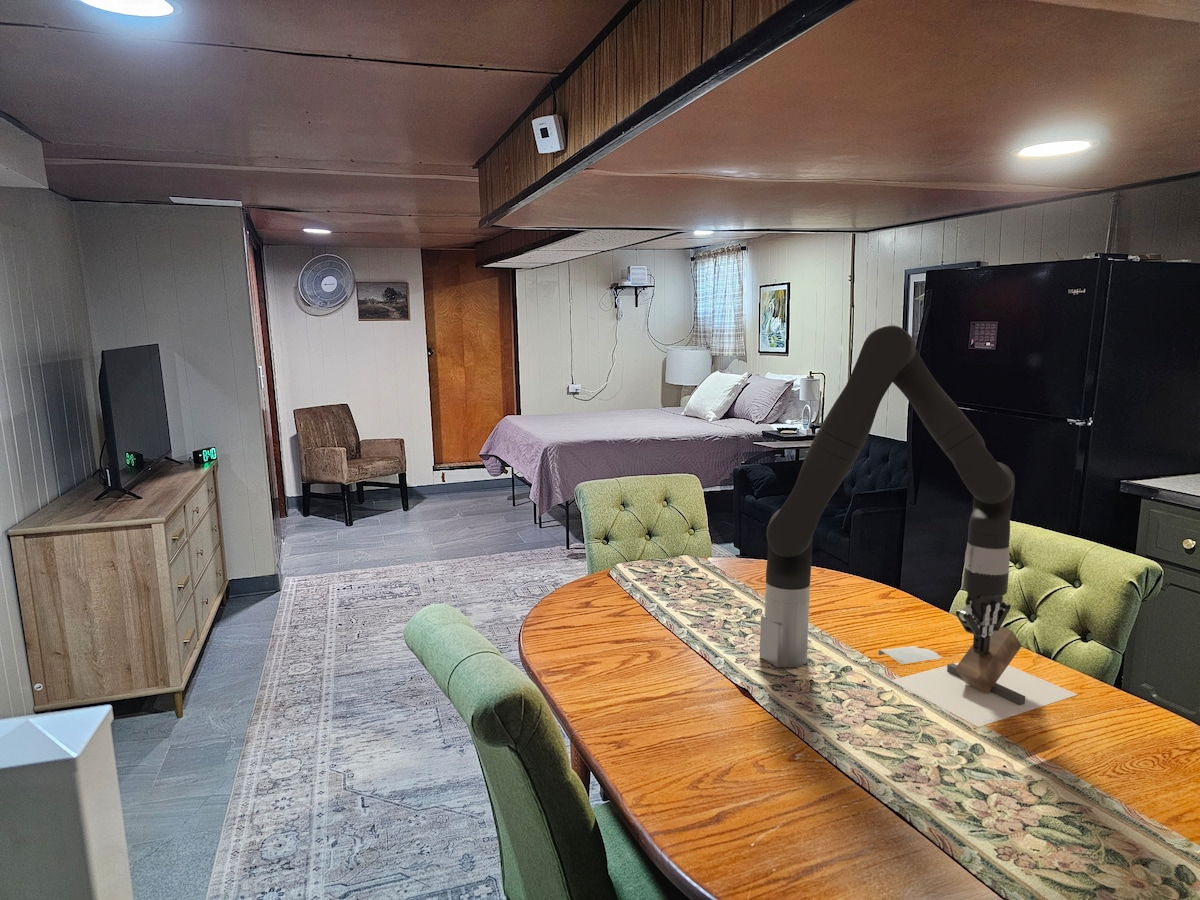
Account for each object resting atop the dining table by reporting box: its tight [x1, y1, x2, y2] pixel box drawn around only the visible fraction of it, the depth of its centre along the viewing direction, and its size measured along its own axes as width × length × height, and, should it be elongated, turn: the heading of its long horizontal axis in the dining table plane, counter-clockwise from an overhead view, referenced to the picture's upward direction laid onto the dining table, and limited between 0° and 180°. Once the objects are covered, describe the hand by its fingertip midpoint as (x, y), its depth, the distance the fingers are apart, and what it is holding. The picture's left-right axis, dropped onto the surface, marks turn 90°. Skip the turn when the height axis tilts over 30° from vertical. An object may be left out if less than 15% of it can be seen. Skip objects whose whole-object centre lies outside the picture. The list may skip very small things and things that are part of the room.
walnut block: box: [955, 626, 1023, 693], centre depth 145 cm, size 5×5×12 cm
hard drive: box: [878, 645, 943, 665], centre depth 162 cm, size 2×8×12 cm
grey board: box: [890, 661, 1078, 728], centre depth 146 cm, size 28×20×2 cm
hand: (980, 653), depth 144 cm, fingers closed
